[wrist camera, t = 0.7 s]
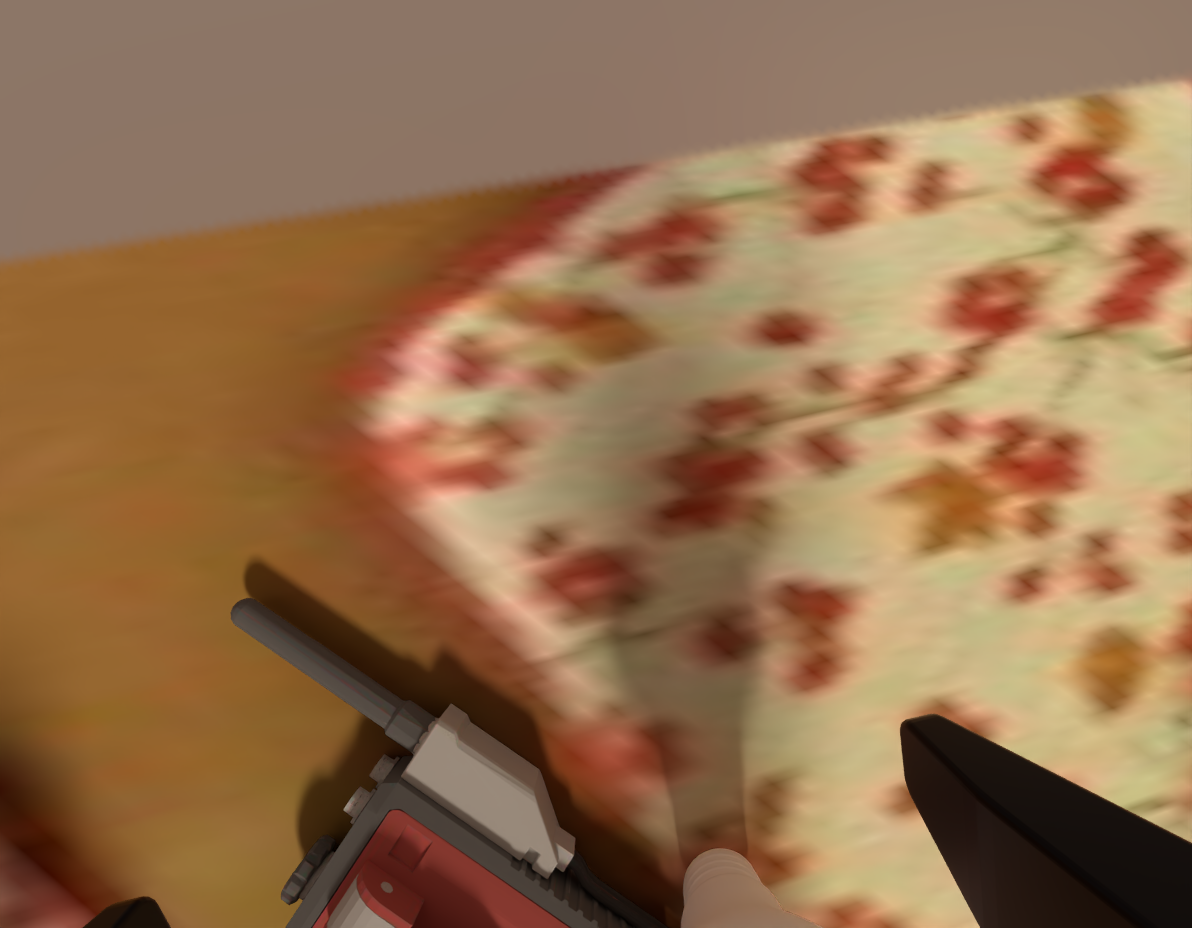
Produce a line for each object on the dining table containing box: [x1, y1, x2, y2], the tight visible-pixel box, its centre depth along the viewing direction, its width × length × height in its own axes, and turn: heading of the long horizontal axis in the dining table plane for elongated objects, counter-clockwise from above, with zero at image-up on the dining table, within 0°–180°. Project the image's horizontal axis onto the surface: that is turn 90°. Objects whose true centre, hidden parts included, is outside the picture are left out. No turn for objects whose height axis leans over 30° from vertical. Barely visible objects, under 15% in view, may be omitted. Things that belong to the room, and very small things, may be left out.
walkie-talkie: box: [231, 598, 668, 928], centre depth 21 cm, size 9×4×20 cm
